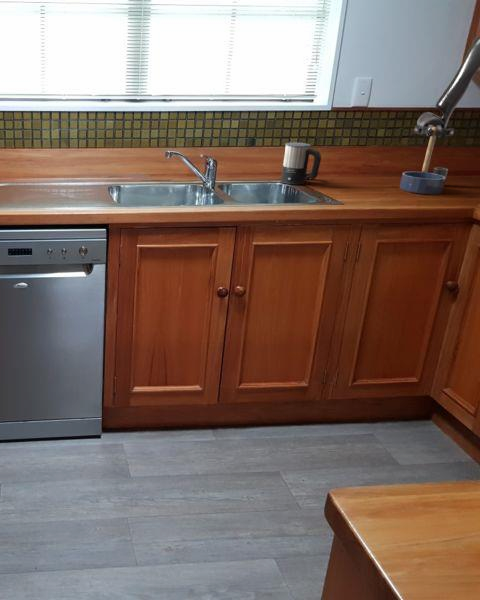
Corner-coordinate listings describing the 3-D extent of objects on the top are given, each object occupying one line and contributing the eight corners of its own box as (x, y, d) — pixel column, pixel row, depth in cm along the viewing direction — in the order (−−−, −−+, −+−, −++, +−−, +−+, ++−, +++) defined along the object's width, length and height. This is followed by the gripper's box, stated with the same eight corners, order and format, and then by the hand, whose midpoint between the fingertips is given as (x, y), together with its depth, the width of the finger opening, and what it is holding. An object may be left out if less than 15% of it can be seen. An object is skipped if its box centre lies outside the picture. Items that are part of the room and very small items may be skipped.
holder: (443, 186, 237) (447, 168, 235) (443, 188, 233) (448, 170, 231) (429, 184, 239) (434, 167, 236) (430, 187, 235) (434, 169, 233)
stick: (427, 171, 226) (438, 127, 219) (427, 172, 224) (438, 127, 218) (421, 170, 227) (432, 126, 220) (421, 171, 225) (432, 127, 219)
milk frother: (279, 183, 235) (285, 144, 229) (280, 176, 249) (285, 139, 243) (317, 187, 231) (325, 147, 225) (316, 179, 245) (323, 141, 239)
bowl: (440, 190, 231) (444, 174, 229) (442, 197, 219) (446, 180, 217) (399, 185, 237) (402, 170, 234) (398, 192, 225) (402, 176, 223)
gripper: (415, 116, 233) (415, 121, 219) (456, 119, 227) (459, 124, 213) (410, 136, 236) (410, 142, 222) (450, 140, 230) (453, 146, 216)
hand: (434, 133), depth 217 cm, fingers closed on stick, 2 cm apart
